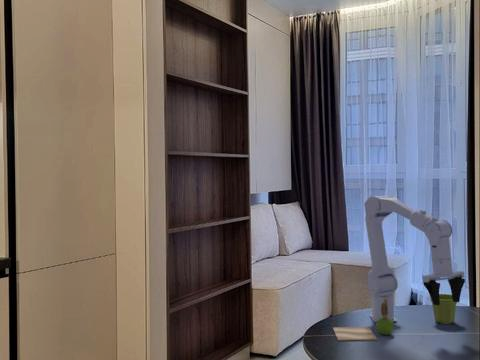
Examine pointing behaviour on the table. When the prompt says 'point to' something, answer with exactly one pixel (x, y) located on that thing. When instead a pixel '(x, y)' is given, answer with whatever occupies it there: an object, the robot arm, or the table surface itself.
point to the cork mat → (354, 334)
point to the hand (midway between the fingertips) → (446, 303)
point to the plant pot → (444, 309)
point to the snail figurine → (385, 320)
